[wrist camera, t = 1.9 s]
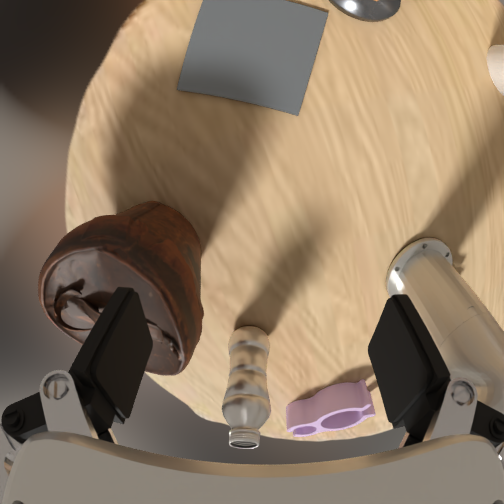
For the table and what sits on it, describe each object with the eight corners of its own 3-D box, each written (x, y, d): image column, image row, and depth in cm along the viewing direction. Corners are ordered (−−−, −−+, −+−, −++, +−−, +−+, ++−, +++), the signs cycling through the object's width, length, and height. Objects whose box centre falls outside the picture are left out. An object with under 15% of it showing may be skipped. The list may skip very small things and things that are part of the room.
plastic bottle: (225, 322, 44) (209, 435, 27) (267, 318, 43) (267, 435, 26) (234, 347, 47) (223, 451, 30) (272, 344, 46) (273, 451, 29)
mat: (327, 14, 21) (328, 13, 21) (297, 115, 28) (298, 115, 28) (208, -10, 20) (207, -12, 19) (178, 90, 27) (176, 89, 26)
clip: (298, 418, 62) (299, 440, 56) (278, 400, 57) (279, 425, 51) (371, 395, 57) (377, 418, 51) (362, 373, 51) (368, 399, 45)
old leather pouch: (76, 222, 35) (3, 295, 20) (178, 152, 31) (105, 208, 15) (140, 307, 44) (103, 395, 28) (245, 266, 39) (238, 375, 23)
